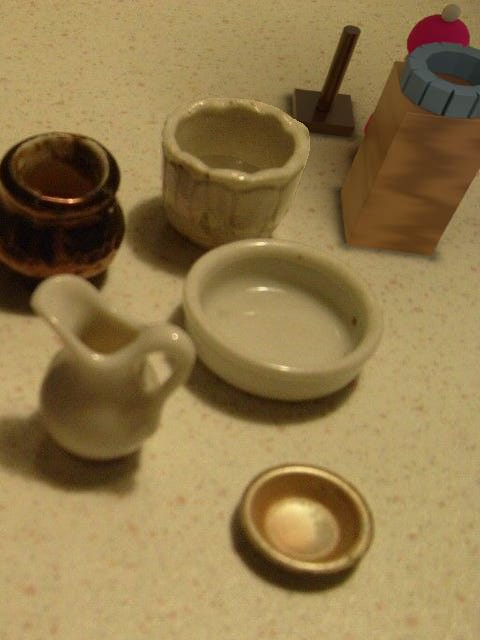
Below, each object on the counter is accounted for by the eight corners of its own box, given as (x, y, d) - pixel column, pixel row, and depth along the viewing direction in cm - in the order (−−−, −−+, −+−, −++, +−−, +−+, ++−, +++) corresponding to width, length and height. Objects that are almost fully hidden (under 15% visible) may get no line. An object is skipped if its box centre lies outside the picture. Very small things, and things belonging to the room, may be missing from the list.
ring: (488, 70, 85) (499, 47, 83) (504, 124, 80) (518, 100, 78) (394, 60, 86) (404, 37, 84) (405, 112, 80) (415, 89, 79)
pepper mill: (350, 141, 105) (413, -16, 90) (410, 148, 105) (485, -10, 89) (355, 178, 101) (422, 19, 85) (418, 186, 100) (498, 27, 85)
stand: (346, 104, 110) (380, 17, 101) (351, 137, 106) (386, 49, 97) (291, 98, 111) (319, 10, 102) (293, 130, 107) (322, 42, 97)
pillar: (420, 202, 98) (488, 70, 85) (430, 256, 93) (504, 124, 80) (340, 192, 99) (394, 60, 86) (345, 245, 94) (405, 112, 80)
